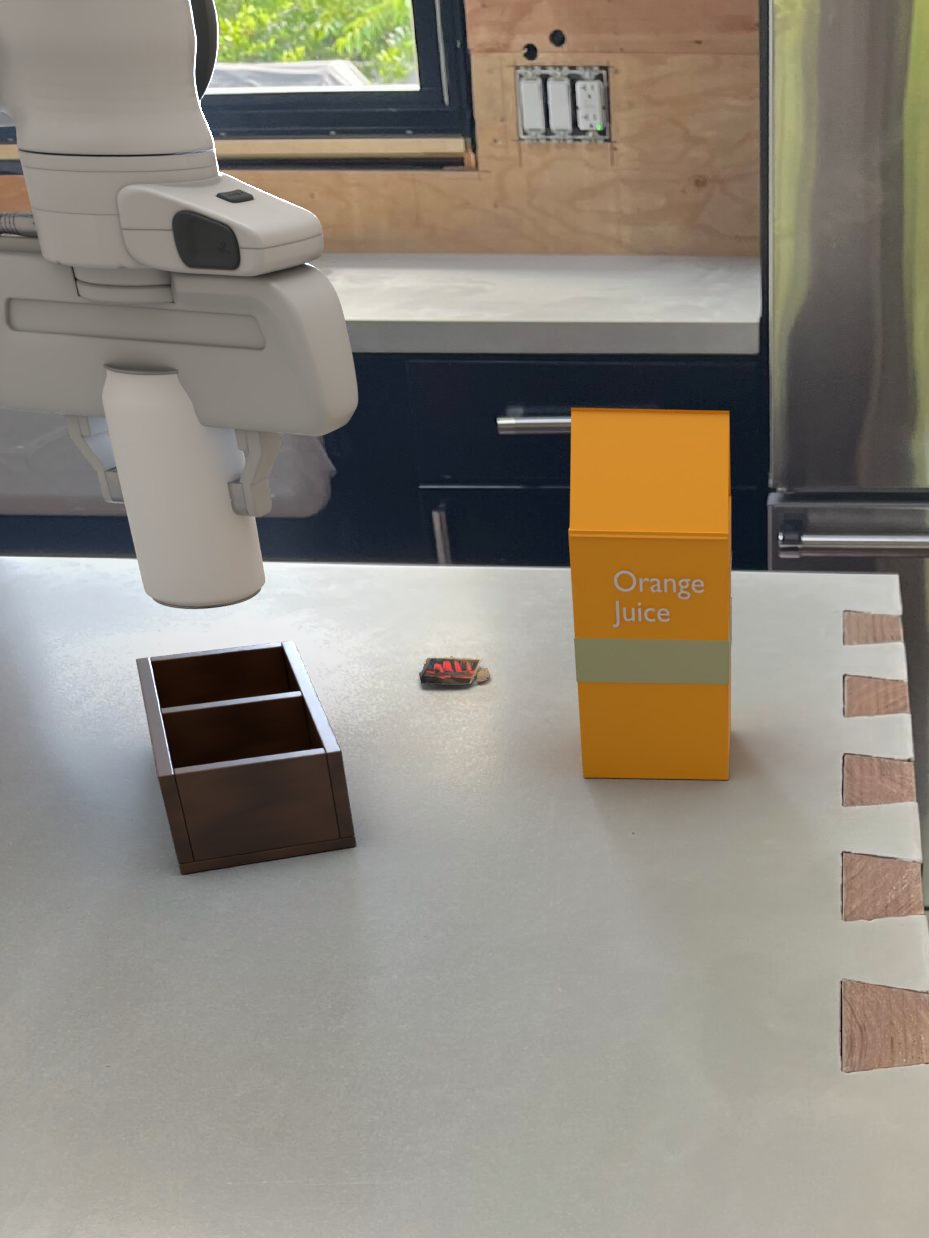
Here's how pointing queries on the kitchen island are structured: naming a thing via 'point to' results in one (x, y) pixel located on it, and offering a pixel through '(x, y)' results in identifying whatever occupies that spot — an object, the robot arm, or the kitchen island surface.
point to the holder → (244, 756)
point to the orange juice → (652, 591)
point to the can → (180, 494)
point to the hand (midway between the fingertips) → (189, 507)
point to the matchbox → (452, 671)
